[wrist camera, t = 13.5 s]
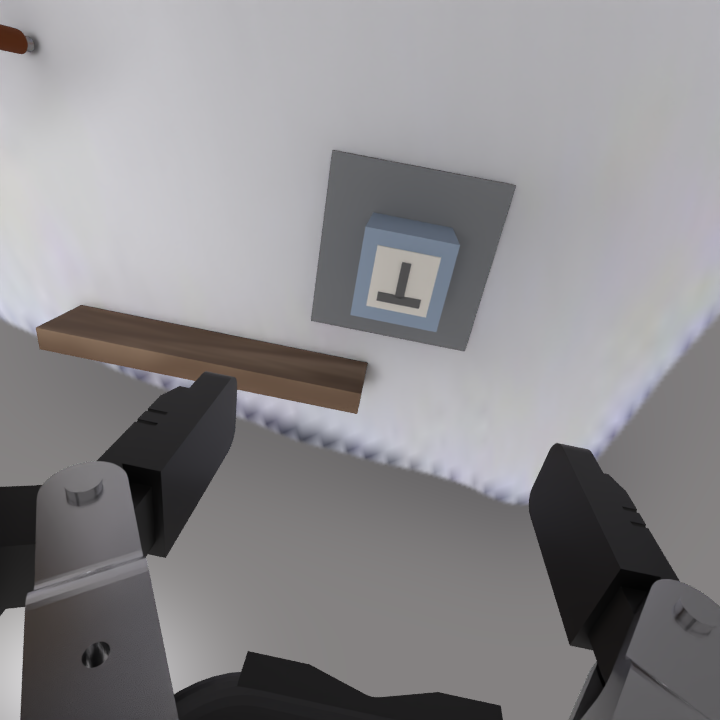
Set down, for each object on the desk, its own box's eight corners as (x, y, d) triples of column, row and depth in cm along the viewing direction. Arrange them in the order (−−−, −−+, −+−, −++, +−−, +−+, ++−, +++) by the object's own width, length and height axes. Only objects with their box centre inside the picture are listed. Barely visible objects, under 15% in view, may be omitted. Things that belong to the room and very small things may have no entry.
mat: (333, 150, 27) (332, 150, 26) (514, 184, 27) (516, 185, 26) (312, 317, 32) (310, 320, 31) (463, 347, 32) (464, 351, 31)
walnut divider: (81, 305, 33) (35, 327, 29) (367, 362, 33) (361, 393, 29) (83, 324, 34) (39, 349, 30) (363, 381, 34) (357, 413, 30)
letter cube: (373, 212, 28) (365, 227, 23) (452, 228, 27) (460, 246, 23) (359, 288, 30) (349, 316, 25) (432, 303, 30) (436, 334, 25)
